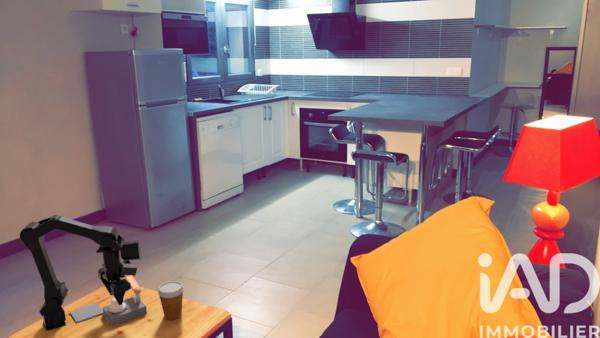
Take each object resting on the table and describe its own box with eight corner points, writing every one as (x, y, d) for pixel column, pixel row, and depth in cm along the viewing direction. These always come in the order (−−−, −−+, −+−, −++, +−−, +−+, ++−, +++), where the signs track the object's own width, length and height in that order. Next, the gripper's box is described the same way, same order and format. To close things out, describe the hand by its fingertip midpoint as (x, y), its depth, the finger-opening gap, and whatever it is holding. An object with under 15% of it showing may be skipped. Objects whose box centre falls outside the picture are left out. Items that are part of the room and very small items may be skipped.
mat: (76, 323, 172) (76, 321, 172) (70, 312, 179) (69, 311, 179) (104, 313, 178) (104, 312, 178) (97, 303, 185) (96, 302, 185)
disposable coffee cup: (158, 312, 179) (155, 283, 176) (183, 306, 183) (180, 278, 180) (162, 324, 170) (159, 295, 167) (188, 318, 174) (186, 289, 171)
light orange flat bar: (125, 279, 189) (125, 276, 189) (132, 277, 191) (131, 275, 190) (135, 294, 178) (134, 291, 177) (141, 292, 179) (141, 289, 179)
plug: (113, 322, 172) (111, 305, 170) (107, 315, 177) (105, 299, 175) (129, 316, 176) (127, 300, 174) (123, 310, 180) (121, 293, 179)
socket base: (112, 325, 170) (110, 308, 168) (103, 314, 178) (101, 297, 176) (146, 313, 178) (145, 296, 176) (137, 302, 186) (135, 286, 184)
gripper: (143, 263, 169) (146, 302, 173) (124, 247, 183) (128, 283, 187) (111, 273, 162) (116, 313, 166) (95, 255, 176) (99, 292, 180)
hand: (116, 299), depth 175 cm, fingers open, 9 cm apart
